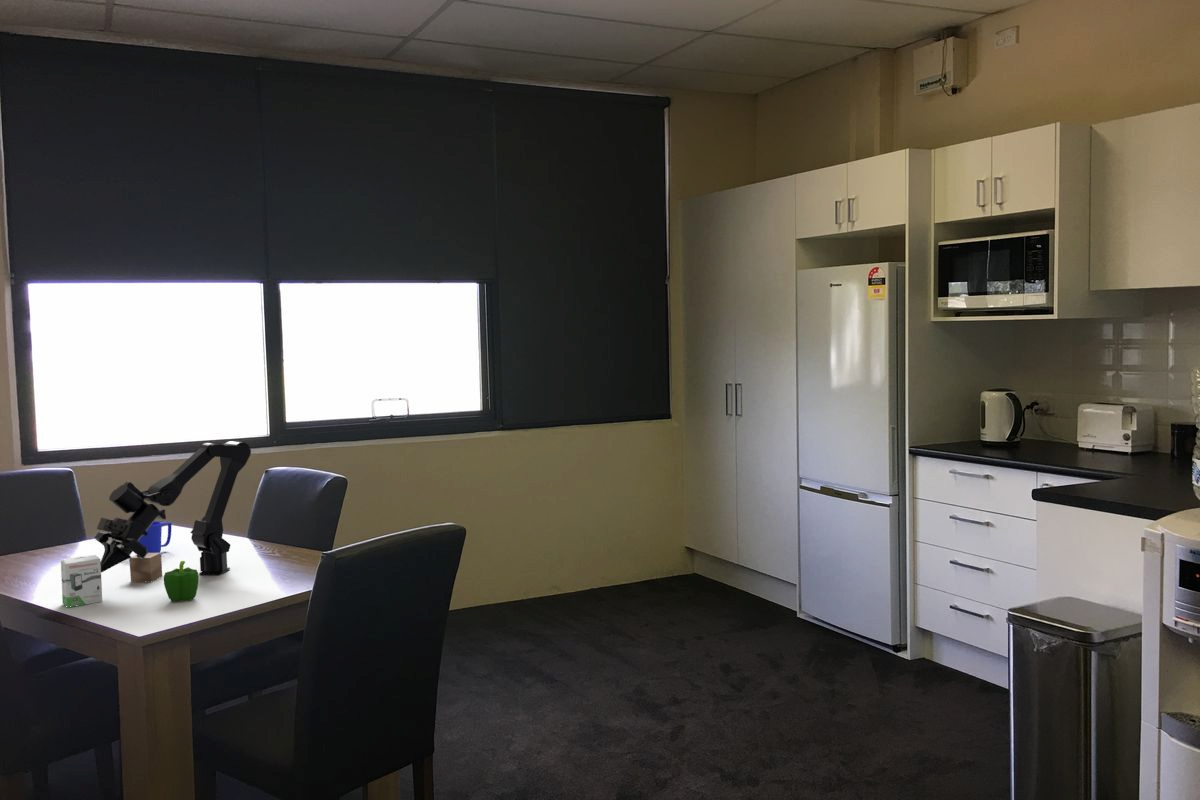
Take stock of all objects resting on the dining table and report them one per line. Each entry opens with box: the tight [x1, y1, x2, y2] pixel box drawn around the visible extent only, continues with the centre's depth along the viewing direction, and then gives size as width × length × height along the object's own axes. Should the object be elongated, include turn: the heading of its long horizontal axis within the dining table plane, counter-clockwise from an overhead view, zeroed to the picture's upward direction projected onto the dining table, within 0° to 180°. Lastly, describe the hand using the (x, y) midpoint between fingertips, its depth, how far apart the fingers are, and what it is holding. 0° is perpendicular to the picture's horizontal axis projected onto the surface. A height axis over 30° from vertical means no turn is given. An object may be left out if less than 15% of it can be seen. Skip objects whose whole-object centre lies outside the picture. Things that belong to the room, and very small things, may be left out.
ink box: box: [60, 554, 103, 608], centre depth 252 cm, size 9×5×12 cm, turn 131°
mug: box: [138, 520, 172, 553], centre depth 307 cm, size 8×12×10 cm
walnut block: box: [129, 552, 163, 583], centre depth 276 cm, size 6×6×7 cm
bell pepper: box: [163, 560, 199, 603], centre depth 254 cm, size 8×8×10 cm
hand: (99, 571), depth 256 cm, fingers closed
